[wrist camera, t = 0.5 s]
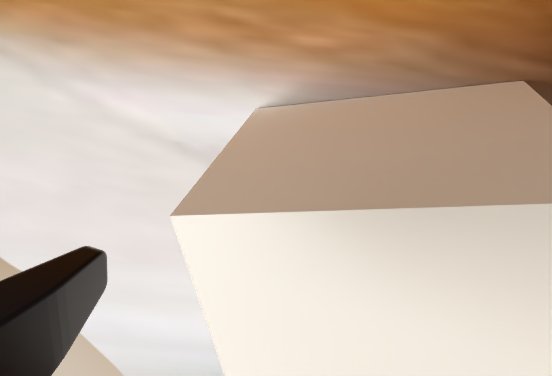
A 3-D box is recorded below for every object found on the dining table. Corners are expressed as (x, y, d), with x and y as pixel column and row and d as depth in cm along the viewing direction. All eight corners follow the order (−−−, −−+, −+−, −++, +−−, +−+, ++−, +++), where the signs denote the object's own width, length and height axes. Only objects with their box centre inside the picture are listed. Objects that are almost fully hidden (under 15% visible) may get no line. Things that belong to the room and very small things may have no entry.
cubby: (496, 344, 25) (556, 547, 16) (301, 334, 28) (266, 499, 20) (523, 80, 18) (657, 199, 9) (255, 108, 21) (169, 215, 12)
